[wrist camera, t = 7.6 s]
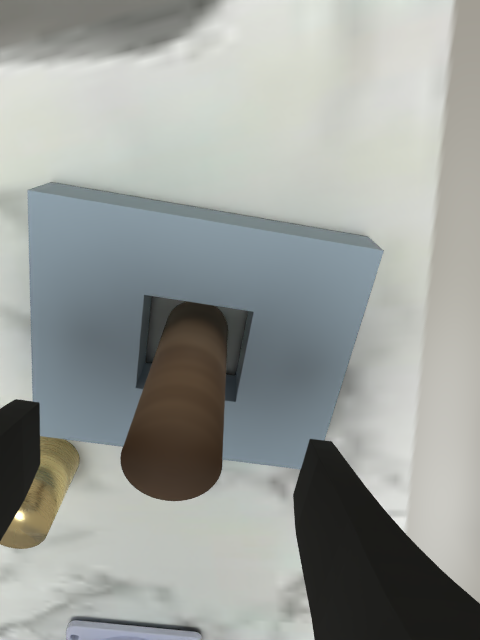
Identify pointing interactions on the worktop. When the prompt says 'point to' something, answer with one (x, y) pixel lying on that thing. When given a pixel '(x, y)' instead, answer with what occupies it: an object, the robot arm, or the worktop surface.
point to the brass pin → (43, 494)
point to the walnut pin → (181, 408)
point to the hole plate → (199, 287)
